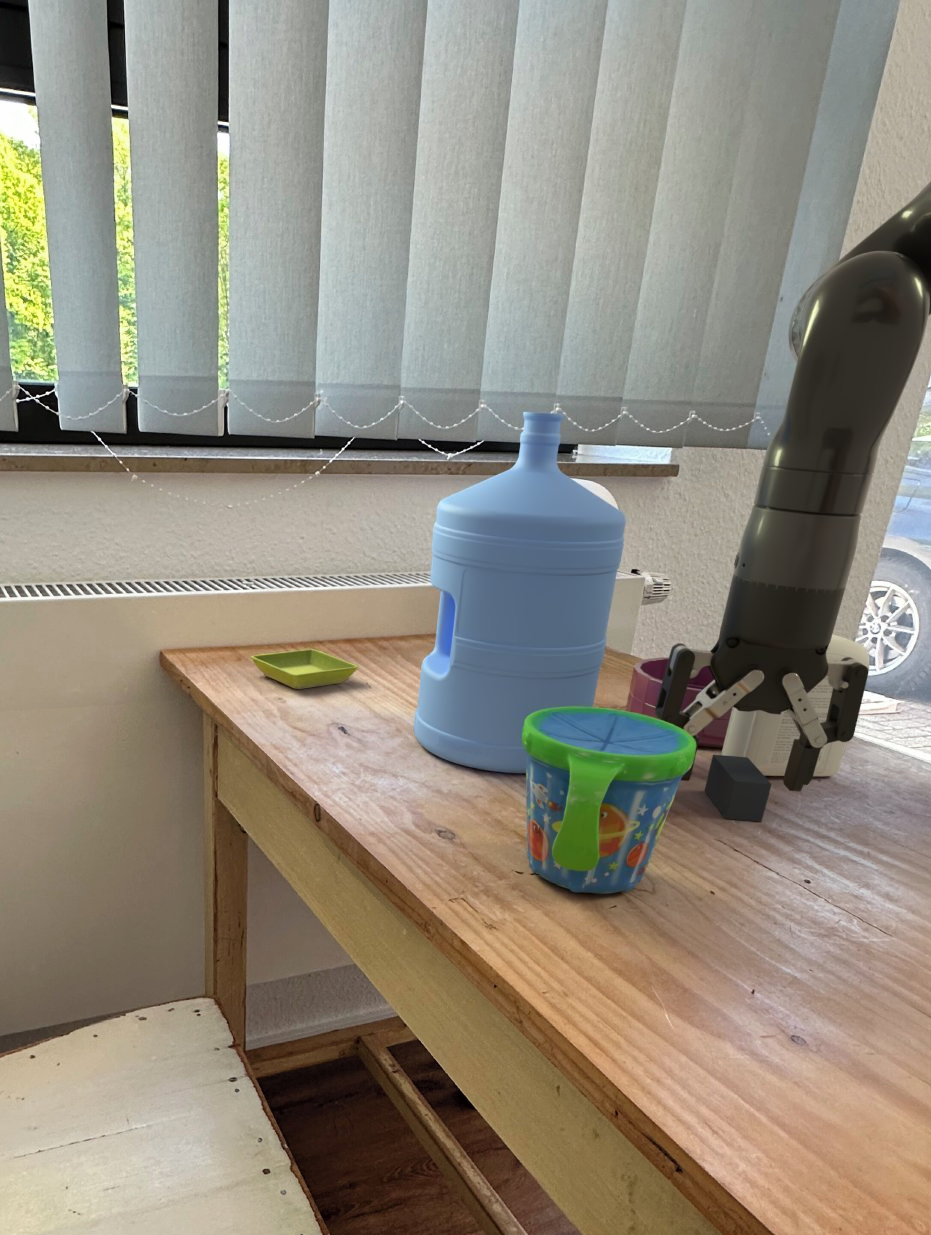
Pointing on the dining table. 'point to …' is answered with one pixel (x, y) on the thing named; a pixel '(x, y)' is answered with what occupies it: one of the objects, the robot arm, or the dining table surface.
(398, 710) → the dining table surface
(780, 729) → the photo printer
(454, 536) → the water jug
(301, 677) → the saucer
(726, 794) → the eraser
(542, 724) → the snack cup
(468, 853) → the dining table surface
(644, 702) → the bowl
